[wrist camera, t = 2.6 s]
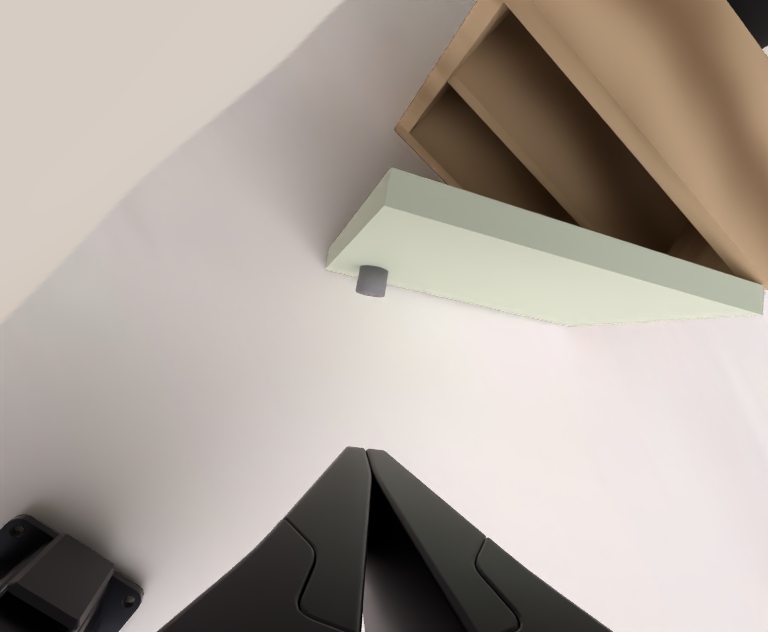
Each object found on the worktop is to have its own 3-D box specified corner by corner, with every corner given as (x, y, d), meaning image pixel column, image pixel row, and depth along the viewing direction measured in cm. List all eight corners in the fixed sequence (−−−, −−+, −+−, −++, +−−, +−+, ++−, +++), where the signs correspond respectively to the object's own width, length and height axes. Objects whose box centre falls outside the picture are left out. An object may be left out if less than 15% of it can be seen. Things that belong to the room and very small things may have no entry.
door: (572, 346, 26) (768, 347, 16) (320, 291, 22) (376, 245, 12) (576, 309, 27) (772, 288, 17) (328, 248, 22) (391, 167, 12)
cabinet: (571, 310, 27) (772, 289, 17) (393, 129, 24) (501, -37, 14) (629, 225, 29) (841, 158, 19) (471, 48, 26) (616, -151, 16)
